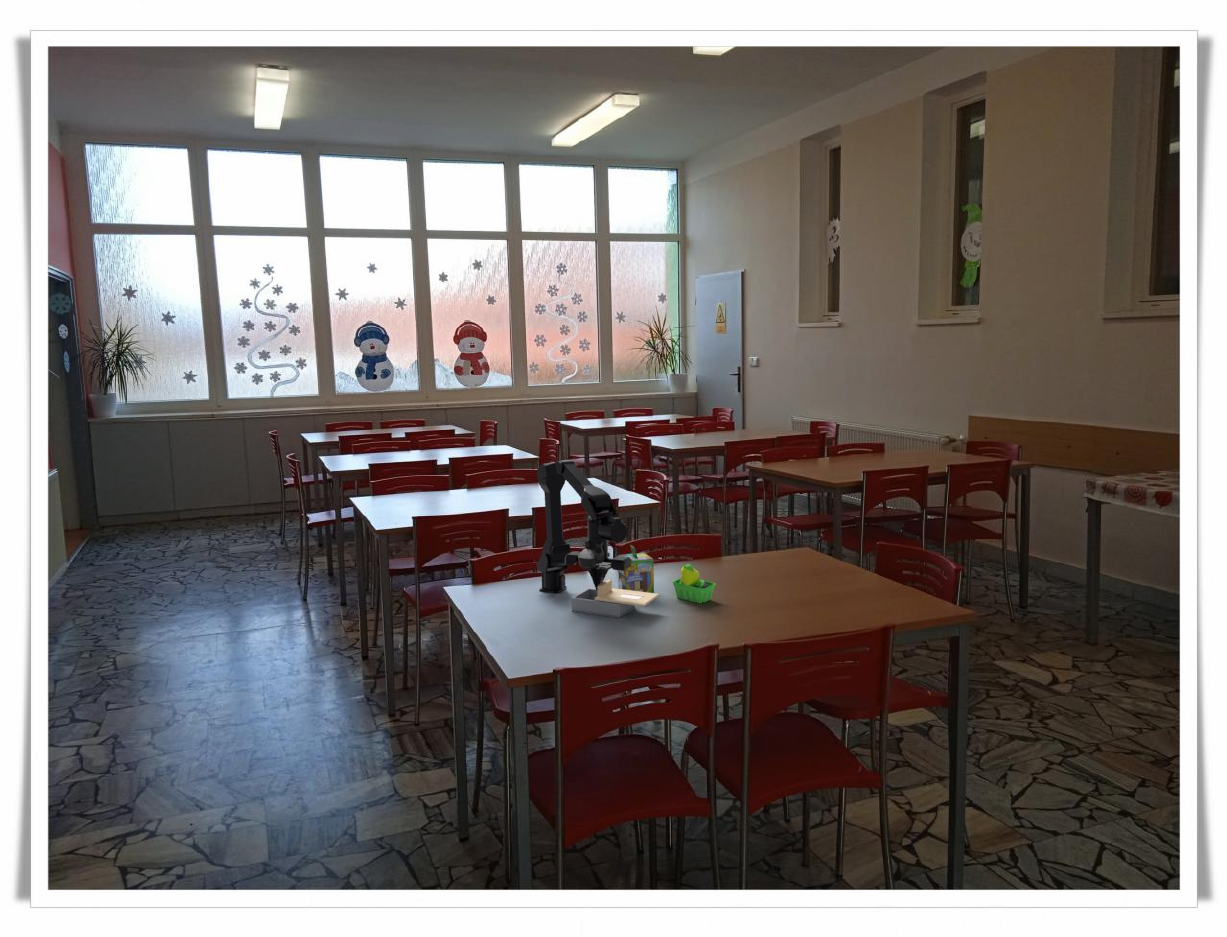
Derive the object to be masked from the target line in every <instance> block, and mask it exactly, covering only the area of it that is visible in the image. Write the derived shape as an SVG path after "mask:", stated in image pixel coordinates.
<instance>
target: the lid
mask: <svg viewBox="0 0 1227 937" xmlns="http://www.w3.org/2000/svg"><path fill="white" fill-rule="evenodd" d="M612 583H613V580H612V579H607V580H605V581H603V583H601V584H600V585H598V596H597V597H595V600H599V601H606V602H614V603H622V604H629V605H635V606H639V607H645V606H647V605H648V604H650V603H651V602H653V601H654V600H655V599H656V598H658V597H659V595H660V593H656V592H654V593H648V592H640V591H632V590H623V589H619V588H615V587H613V584H612Z"/></svg>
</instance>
